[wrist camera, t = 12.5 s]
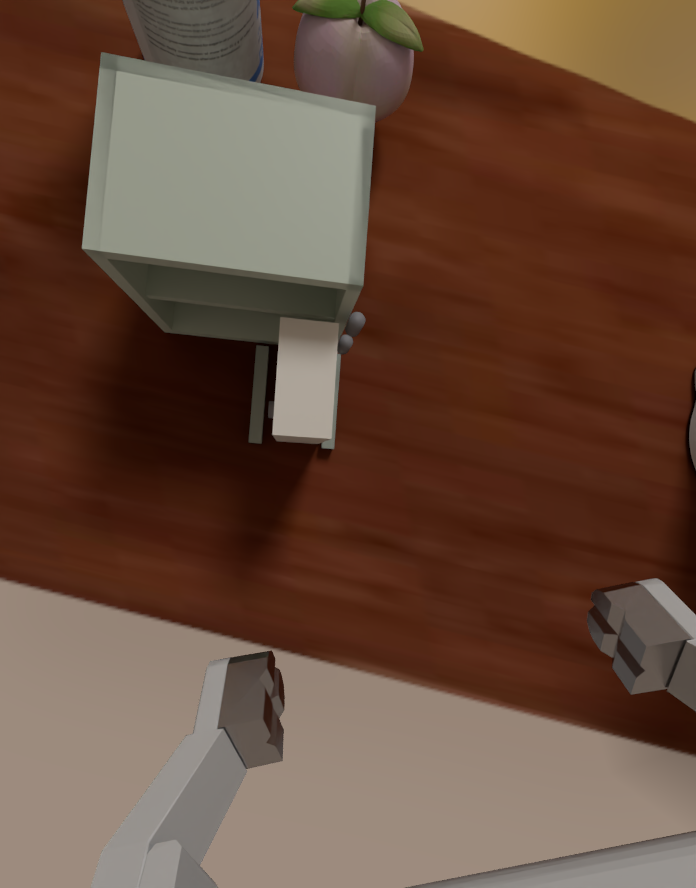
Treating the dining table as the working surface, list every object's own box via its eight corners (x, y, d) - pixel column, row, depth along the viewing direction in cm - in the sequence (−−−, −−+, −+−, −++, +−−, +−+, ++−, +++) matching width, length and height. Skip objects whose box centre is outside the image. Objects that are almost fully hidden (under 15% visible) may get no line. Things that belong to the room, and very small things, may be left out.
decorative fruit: (397, 73, 38) (437, -62, 28) (394, 162, 38) (432, 56, 28) (293, 55, 37) (295, -94, 27) (288, 146, 36) (289, 30, 26)
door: (318, 444, 36) (331, 438, 25) (270, 440, 35) (262, 434, 24) (323, 363, 36) (338, 323, 25) (275, 358, 36) (270, 315, 25)
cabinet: (337, 449, 36) (368, 445, 22) (155, 435, 34) (64, 421, 20) (352, 239, 37) (391, 109, 23) (175, 213, 35) (101, 52, 21)
